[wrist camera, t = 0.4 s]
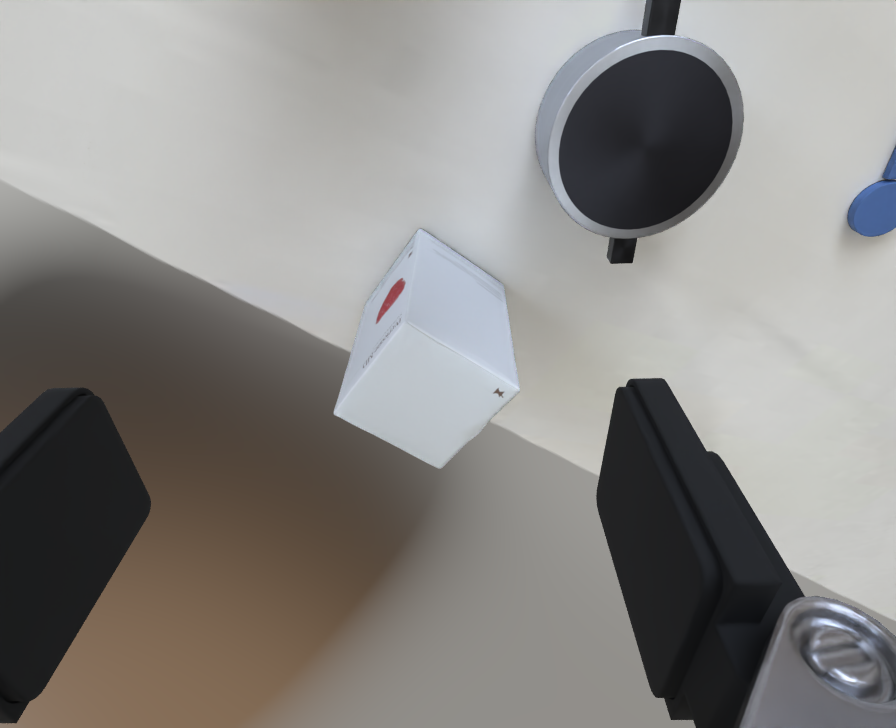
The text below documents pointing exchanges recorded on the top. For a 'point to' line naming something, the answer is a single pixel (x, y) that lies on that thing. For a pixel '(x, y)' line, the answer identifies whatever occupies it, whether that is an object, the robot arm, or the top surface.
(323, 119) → the top surface
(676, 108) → the pot
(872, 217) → the spoon
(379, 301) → the white product box
